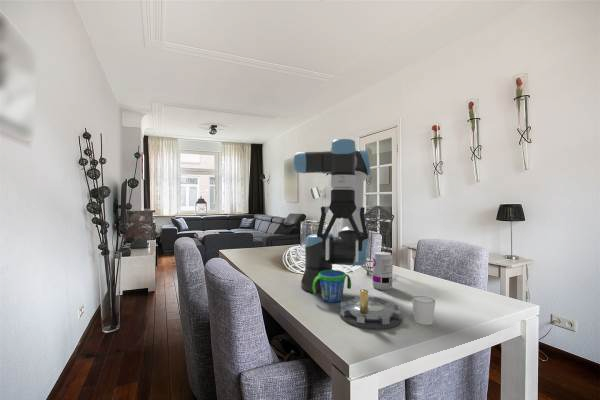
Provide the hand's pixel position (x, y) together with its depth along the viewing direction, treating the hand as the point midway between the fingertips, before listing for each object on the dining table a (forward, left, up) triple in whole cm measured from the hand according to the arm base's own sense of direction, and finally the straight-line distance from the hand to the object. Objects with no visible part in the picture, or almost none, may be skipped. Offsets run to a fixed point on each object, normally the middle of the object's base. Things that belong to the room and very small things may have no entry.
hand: (342, 260), depth 95 cm
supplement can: (+3, +41, -20) cm, 46 cm away
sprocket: (+7, +8, -18) cm, 21 cm away
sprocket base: (+7, +8, -19) cm, 22 cm away
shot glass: (+23, +13, -20) cm, 33 cm away
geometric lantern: (-5, +61, -20) cm, 65 cm away
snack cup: (-10, +16, -20) cm, 27 cm away
